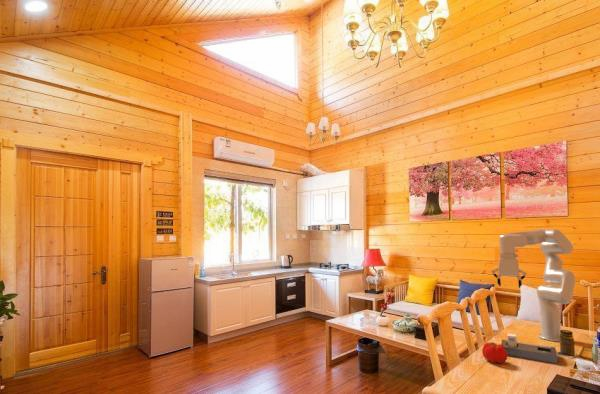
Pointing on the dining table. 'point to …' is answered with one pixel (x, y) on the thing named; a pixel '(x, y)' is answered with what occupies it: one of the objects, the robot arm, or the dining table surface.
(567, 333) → the condiment
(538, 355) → the panel
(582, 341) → the dining table surface
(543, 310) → the robot arm
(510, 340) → the plug
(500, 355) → the tomato
